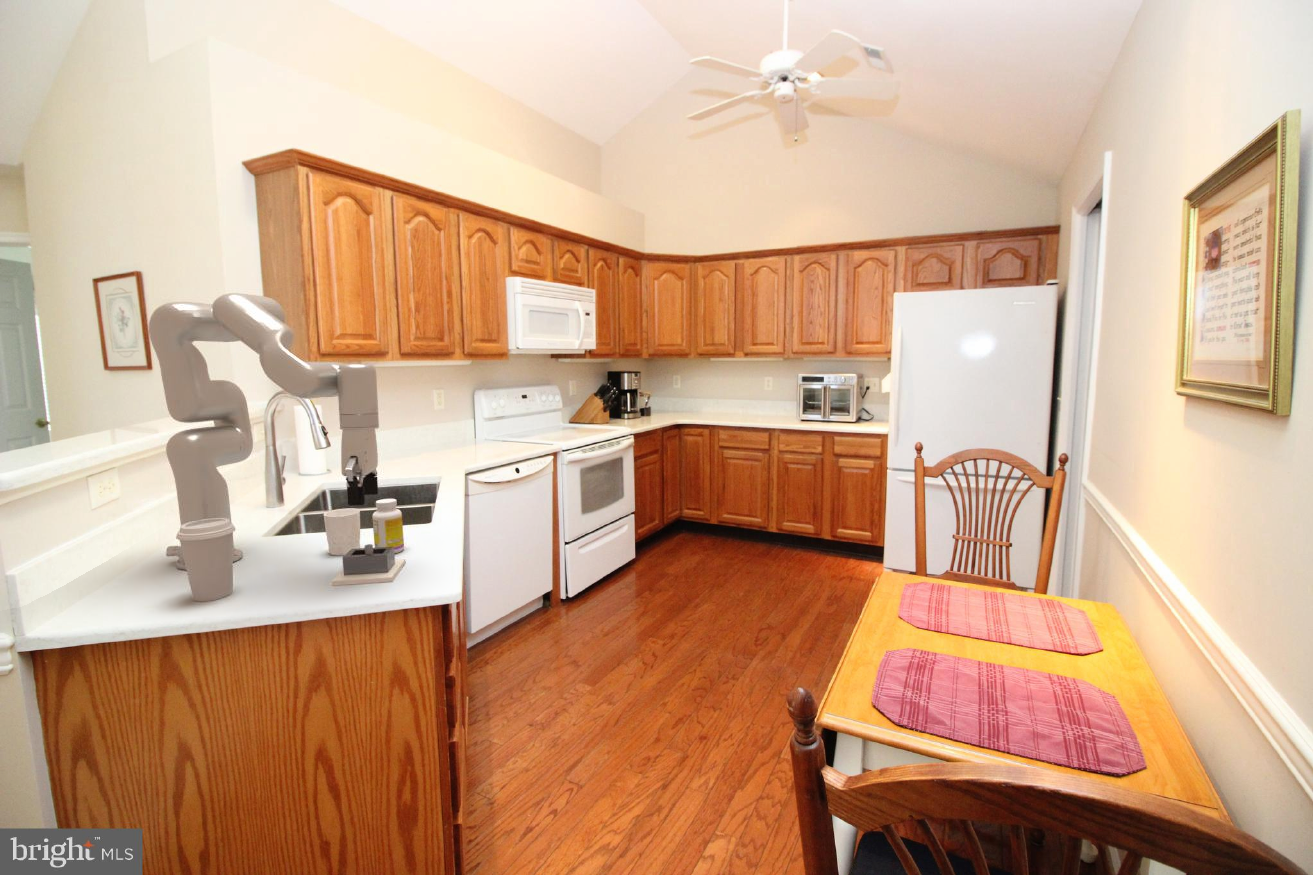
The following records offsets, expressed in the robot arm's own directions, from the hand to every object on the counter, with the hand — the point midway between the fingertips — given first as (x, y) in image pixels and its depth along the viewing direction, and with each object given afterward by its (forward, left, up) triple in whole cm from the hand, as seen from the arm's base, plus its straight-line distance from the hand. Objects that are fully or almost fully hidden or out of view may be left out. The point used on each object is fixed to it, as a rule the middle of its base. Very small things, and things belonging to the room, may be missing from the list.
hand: (363, 499), depth 131 cm
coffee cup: (-28, -7, -17) cm, 33 cm away
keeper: (0, 0, -17) cm, 17 cm away
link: (0, 0, -16) cm, 16 cm away
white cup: (-11, +18, -17) cm, 27 cm away
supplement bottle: (0, +16, -17) cm, 23 cm away
